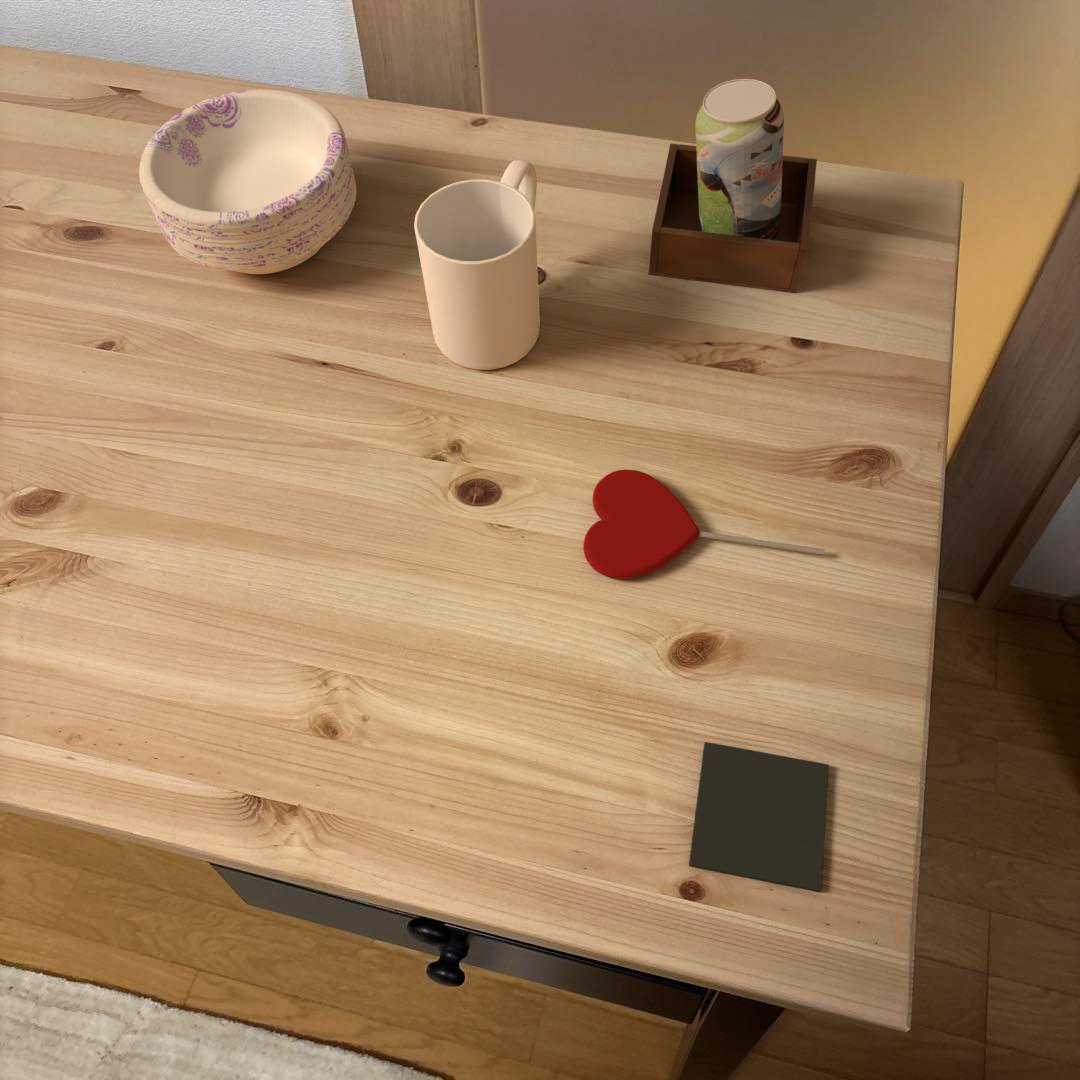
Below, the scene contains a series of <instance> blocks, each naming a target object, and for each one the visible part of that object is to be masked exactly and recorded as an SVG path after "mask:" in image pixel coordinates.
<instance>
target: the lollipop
mask: <svg viewBox="0 0 1080 1080" xmlns="http://www.w3.org/2000/svg"><path fill="white" fill-rule="evenodd" d="M592 505H593V506H592V507H593V510H594V512H595V513H596V515H597V517H599V520H598V521H595V522H594V523H593V524H592V525H591V526H590V527H589V529H588V530H587V532H586V533H585V536H584V538H583V539H584V540H583V545H582V546H583V554H584V558H585V559H586V562H587V563H588V564H589V566H590V567H591V568H592V569H593V570H594V571H595V572H596V573H598V574H600V575H602V576H604V577H606V578H611V579H615V580H629V579H630V580H631V579H635V578H639V577H643V576H645V575H648V574H651V573H653V572H655V571H656V570H659V569H660V568H662V567H664V566H665V565H667V564H669V563H670V562H672V561H673V560H675V559H676V558H677V557H679V556H680V555H681V554H682V553H684V552H685V551H686V550H687V549H688V548H689V547H691V546H692V544H694V542H695V541H697V539H698V538H704V539H712V540H719V541H726V542H733V543H738V544H739V543H740V544H747V545H754V546H759V547H766V548H767V547H768V548H773V549H781V550H787V551H794V552H801V553H808V554H814V555H815V554H816V555H820V556H821V555H822V556H825V549H824V548H819V547H817V548H816V547H810V546H804V545H798V544H790V543H783V542H776V541H771V540H763V539H756V538H750V537H742V536H737V535H730V534H729V535H728V534H723V533H722V534H721V533H717V532H716V533H715V532H708V531H703V530H700V528H699V527H698V525H697V522H695V520H694V519H693V517H692V516H691V514H690V512H689V511H688V509H687V508H686V506H685V505H684V503H682V501H681V500H680V499H679V498H678V497H677V496H676V495H675V494H674V492H673V491H671V489H670V488H668V486H666V484H664V483H662V482H661V481H660V480H658V479H657V478H655V477H653V476H652V475H650V474H648V473H645V472H644V471H641V470H635V469H618V470H615V471H612V472H610V473H607V474H606V475H605V476H603V477H602V478H601V479H600V480H599V481H598V482H597V484H596V485H595V487H594V490H593V493H592Z"/></svg>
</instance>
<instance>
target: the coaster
mask: <svg viewBox="0 0 1080 1080" xmlns="http://www.w3.org/2000/svg"><path fill="white" fill-rule="evenodd" d="M702 750H703V751H702V757H701V758H702V759H701V767H700V773H699V782H698V789H697V798H696V806H695V814H694V822H693V830H692V838H691V846H690V851H689V852H690V853H689V859H688V860H689V861H688V867H689V868H691V867H692V868H696V869H700V870H706V871H711V872H715V873H721V874H725V875H731V876H735V877H736V876H737V877H740V878H746V879H751V880H755V881H760V882H766V883H771V884H775V885H781V886H785V887H791V888H794V889H795V888H796V889H801V890H805V891H809V892H816V893H821V892H822V885H823V869H824V853H825V837H826V836H825V835H826V822H827V821H826V820H827V806H828V805H827V803H828V788H829V787H828V786H829V771H830V765H829V764H828V763H823V762H817V761H812V760H806V759H800V758H795V757H789V756H784V755H778V754H773V753H768V752H762V751H756V750H752V749H745V748H740V747H735V746H730V745H724V744H718V743H715V742H714V743H713V742H708V741H705V742H704V744H703V749H702Z"/></svg>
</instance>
